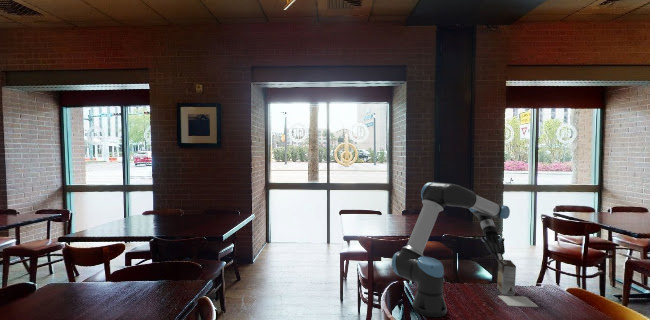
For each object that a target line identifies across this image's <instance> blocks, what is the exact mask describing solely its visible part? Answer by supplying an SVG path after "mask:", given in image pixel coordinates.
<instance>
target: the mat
mask: <svg viewBox="0 0 650 320" xmlns="http://www.w3.org/2000/svg"><path fill="white" fill-rule="evenodd" d="M497 297H498V298H499V299H500V300H501V301H502V302H503V303H505V304H506V306H508V307H519V308H521V307H523V308H525V307H526V308H539V306H538V305H537V304H536V303H535V302H533V301H532V300H531V299H530V298H528V297H527V296H524V295H523V296H521V295H520V296H518V295H515V296H511V295H497Z"/></svg>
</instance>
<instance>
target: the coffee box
mask: <svg viewBox="0 0 650 320" xmlns="http://www.w3.org/2000/svg"><path fill="white" fill-rule="evenodd" d="M516 275H517V266H516V265H515V263H514V262H513V261H511V259H503V260H497V284H496V285H497V287H496V288H497V289H498V290H499V293H501V296H516Z"/></svg>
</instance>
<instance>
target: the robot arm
mask: <svg viewBox="0 0 650 320" xmlns="http://www.w3.org/2000/svg"><path fill="white" fill-rule="evenodd" d="M420 198H421V203H422V208H421V209H420V210H421V211H420V213H419V215H418V217H417V220H416V222H415V224H414V227H413V230H412V232H411V233H410V236H409V238H408V241H407V243H406V245H405V246H402V247H401V250H400V251H397V252H395V253H394V254H393V256H392V257H391V258H392V259H391V267H392V268H391V269H392V270H393V272H394V274H396V275H397V276H398V277H399V278H403V279H406V280H408V281H411V282H413V283H415V284H416V293H415V297H414V298H413V302H412V308H413V311H415V312H416V313H418V314H419V315H422V316H424V317H428V318H429V317H430V318H441V317H445V316H446V315H447V311H448V308H447V305H446V301H445V297H444V277H445V276H444V275H445V272H444V265H443V263H442V262H441V260H438V259H436V258H435V257H431V256H425V255H424V251H425V248H426V245H427V243H428V241H429V238H430V235H431V233H432V230H433V228H434V226H435V223H436V221H437V218H438V216H439V213H440V212H443V211H444V210H445V207H446V206H447V207H458V208H463V209H468V210H469V211H470V212H471V213H472V214H473V215H474V216H475V217H476V218H478V222H479V224H480V227H481V230H482V234H483V237H482V238H481V239H480V241H481V242H482V243H483V245H484V246H485V247H486V249H487V251H488V252H489V254H490V255H492V256H493V257H494V258H495V260H496V261H498V260H505V259H504V254H505V252H506V251H505V250H506V249H505V238H504V237H500V235H499V234H498V231H497V227H496V224H495V223H494V220H493V218H496V219H499V220H500V219H503V220H504V219H505V220H506V219H508V218H509V217H510V213H511V210H510V207H509V206H507V205H503V204H499V203H496V202H493V201H491V200H488V199H486V198H484V197H482V196H479V195H477V194H476V193H475V192H474V191H473V190H471V189H468V188H466V187H463V186H462V185H459V184H454V183H447V182H446V183H445V182H438V181H431V182H430V181H429V182H427V183H425V184H424V185H423V186H422V188H421V191H420Z"/></svg>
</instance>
